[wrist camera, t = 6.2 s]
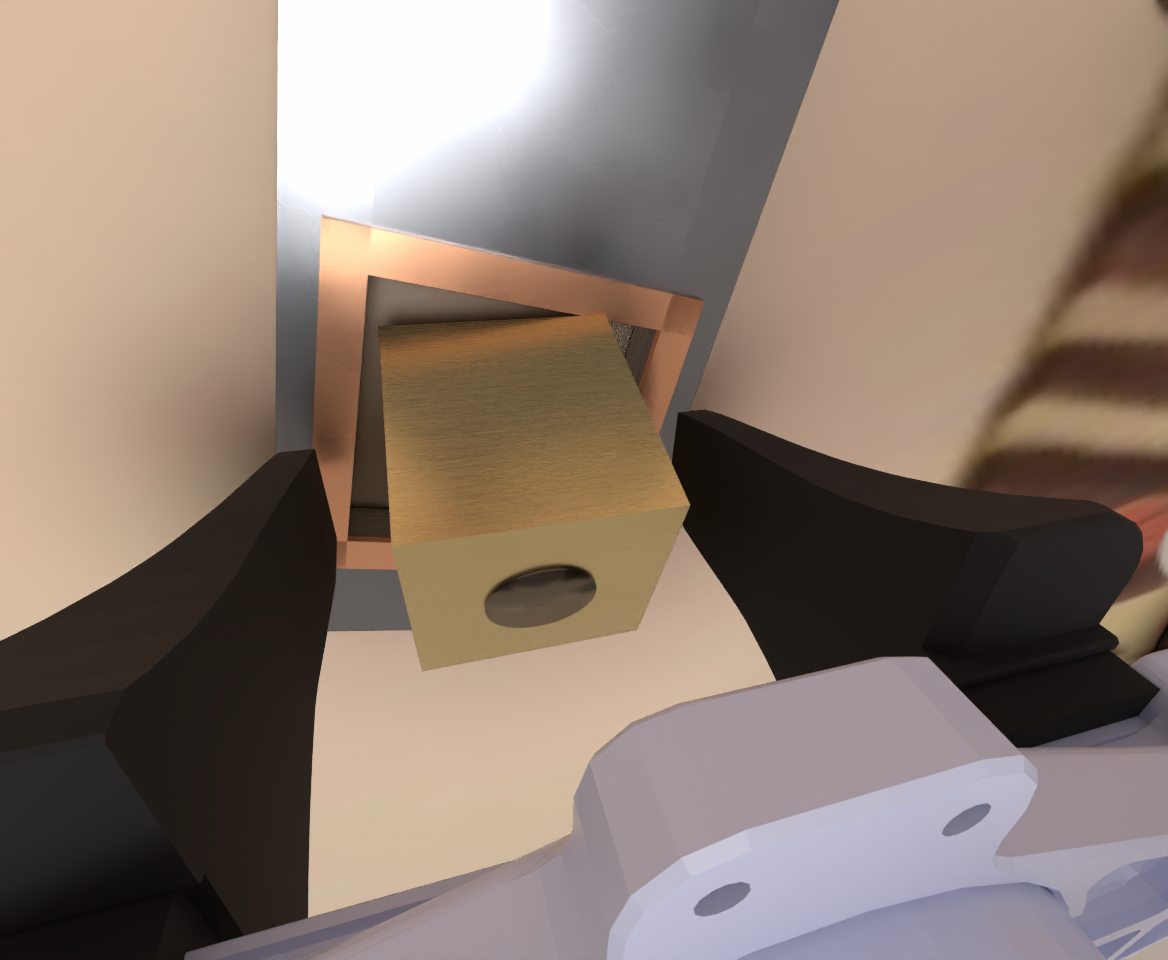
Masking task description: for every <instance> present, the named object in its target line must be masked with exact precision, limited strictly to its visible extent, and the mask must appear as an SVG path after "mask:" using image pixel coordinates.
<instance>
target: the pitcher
mask: <svg viewBox="0 0 1168 960" xmlns="http://www.w3.org/2000/svg"><path fill="white" fill-rule="evenodd" d="M1165 649H1168V629H1167V631H1166V632H1165V634H1164V635H1163V637H1162V639H1161V641H1160V643H1159V646H1158V649H1157V651H1156V652H1158V651H1161V650H1165Z"/></svg>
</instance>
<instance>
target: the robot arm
mask: <svg viewBox="0 0 1168 960" xmlns="http://www.w3.org/2000/svg"><path fill="white" fill-rule="evenodd" d="M672 465H673V467H674V470H675V472H676V474H677V476H678V479H679V481H680V483H681V485H682V488H683V490H684V492H685V494H686V497H687V499H688V501H689V503H690V507H689V510H688V512H687V514H686V517H685V519H684V521H683V524H682V525H683V527H684V529H685V530H686V532H687V533H688V535H689V536H690V538H691V539H692V541H693V542H694V544H695V545H696V547H697V548H698V550H699V551H700V553H701V554H702V556H703V557H704V559H705V560H706V562H707V563H708V565H709V566H710V568H711V569H712V570H713V572H714V573H715V575H716V576H717V578H718V579H719V581H720V582H721V584H722V585H723V586H724V588H725V589H726V591H727V592H728V594H729V595H730V597H731V598H732V600H733V601H734V603H735V604H736V606H737V607H738V609H739V610H740V612H741V614H742V615H743V617H744V619H745V620H746V622H747V624H748V626H749V628H750V630H751V631H752V633H753V635H754V637H755V639H756V641H757V643H758V645H759V647H760V649H761V650H762V652H763V654H764V656H765V658H766V660H767V662H768V664H769V666H770V668H771V670H772V672H773V674H774V676H775V679H776V681H774V682H770V683H766V684H761V685H757V686H753V687H748V688H744V689H740V690H735V691H731V692H727V693H722V694H718V695H714V696H709V697H705V698H701V699H696V700H692V701H688V702H683V703H679V704H677V705H674V706H672V707H669V708H667V709H664V710H662V711H659V712H657V713H654V714H652V715H649V716H647V717H644V718H642V719H639V720H637V721H635V722H632V723H631V724H629V725H628V726H627V727H626V728H625V729H623V730H622V731H621V732H620V733H619V734H617V735H616V736H615V737H614V738H613V739H611V740H610V741H609V742H608V743H607V744H605V745H604V746H603V747H602V748H601V749H599V750H598V751H597V752H596V753H595V754H594V756H593V757H592V759H591V760H590V762H589V764H588V766H587V768H586V771H585V773H584V775H583V777H582V780H581V782H580V784H579V786H578V789H577V791H576V793H575V795H574V808H573V830H572V834H569V835H567V836H565V837H563V838H561V839H559V840H557V841H554V842H552V843H550V844H548V845H546V846H544V847H542V848H540V849H537V850H535V851H533V852H531V853H529V854H527V855H525V856H523V857H521V858H518V859H516V860H513V861H510V862H506V863H502V864H499V865H495V866H492V867H488V868H485V869H481V870H478V871H474V872H470V873H467V874H463V875H460V876H456V877H453V878H449V879H445V880H442V881H438V882H435V883H431V884H428V885H424V886H420V887H417V888H413V889H410V890H406V891H403V892H399V893H395V894H392V895H388V896H385V897H381V898H378V899H374V900H371V901H367V902H363V903H360V904H356V905H353V906H349V907H346V908H342V909H338V910H335V911H331V912H328V913H324V914H321V915H317V916H313V917H310V918H308V869H309V828H310V798H311V774H312V753H313V735H314V718H315V704H316V696H317V688H318V681H319V676H320V670H321V664H322V659H323V653H324V648H325V642H326V636H327V631H328V625H329V620H330V614H331V608H332V602H333V596H334V590H335V584H336V564H337V536H336V532H335V528H334V524H333V520H332V516H331V512H330V508H329V504H328V500H327V496H326V491H325V487H324V483H323V479H322V475H321V471H320V467H319V463H318V459H317V455H316V451H315V449H307V450H297V451H287V452H279V453H277V454H276V455H275V456H273V457H272V458H271V459H270V460H269V461H267V462H266V463H265V464H264V465H263V466H262V467H261V468H260V469H259V470H257V471H256V472H255V473H254V474H253V475H252V476H251V477H250V478H249V479H248V480H246V481H245V482H244V483H243V484H242V485H241V486H240V487H239V488H238V489H236V490H235V491H234V492H233V493H232V494H231V495H230V496H228V497H227V498H226V499H225V500H224V501H223V502H222V503H221V504H219V505H218V506H217V507H216V508H215V509H213V510H212V511H211V512H210V513H208V514H207V515H206V516H205V517H203V518H202V519H201V520H200V521H198V522H197V523H196V524H195V525H193V526H192V527H191V528H190V529H188V530H187V531H186V532H185V533H183V534H182V535H181V536H180V537H178V538H177V539H176V540H174V541H173V542H172V543H170V544H169V545H167V546H166V547H165V548H163V549H162V550H160V551H159V552H157V553H156V554H155V555H153V556H152V557H150V558H149V559H147V560H146V561H144V562H143V563H141V564H140V565H138V566H136V567H135V568H133V569H132V570H130V571H129V572H127V573H126V574H124V575H123V576H121V577H119V578H118V579H116V580H114V581H113V582H111V583H109V584H108V585H106V586H104V587H102V588H100V589H99V590H97V591H95V592H93V593H91V594H90V595H88V596H86V597H84V598H82V599H81V600H79V601H77V602H75V603H73V604H72V605H70V606H68V607H66V608H64V609H63V610H61V611H59V612H57V613H55V614H54V615H52V616H50V617H48V618H46V619H44V620H42V621H40V622H38V623H36V624H34V625H32V626H30V627H28V628H26V629H24V630H22V631H20V632H18V633H16V634H14V635H12V636H10V637H8V638H6V639H4V640H2V641H0V960H1124V959H1126V958H1128V957H1130V956H1132V955H1134V954H1136V953H1138V952H1140V951H1142V950H1144V949H1146V948H1148V947H1150V946H1152V945H1154V944H1156V943H1158V942H1160V941H1162V940H1164V939H1166V938H1168V649H1165V650H1161V651H1158V652H1154V653H1150V654H1148V655H1146V656H1143V657H1141V658H1140V659H1138V660H1137V661H1135V662H1134V663H1132V664H1131V665H1130V666H1129V665H1128V664H1127V663H1125V662H1124V661H1123V660H1121V659H1120V658H1119V657H1117V656H1116V655H1115V654H1113V653H1112V652H1111V651H1109V650H1113V649H1115V648H1116V647H1117V645H1118V644H1119V641H1118V638H1117V637H1116V636H1115V635H1114V634H1112V633H1111V632H1110V631H1108V630H1107V629H1105V628H1104V627H1103V626H1101V625H1100V624H1099V623H1100V622H1101V620H1102V619H1103V617H1104V616H1105V615H1106V613H1107V612H1108V610H1109V609H1110V607H1111V606H1112V604H1113V603H1114V602H1115V600H1116V599H1117V597H1118V596H1119V594H1120V593H1121V591H1122V590H1123V589H1124V587H1125V586H1126V584H1127V583H1128V581H1129V580H1130V578H1131V576H1132V575H1133V573H1134V571H1135V570H1136V568H1137V566H1138V564H1139V561H1140V558H1141V555H1142V552H1143V537H1142V532H1141V530H1140V529H1139V527H1138V526H1137V524H1136V523H1135V522H1133V521H1131V520H1129V519H1127V518H1126V517H1124V516H1122V515H1120V514H1119V513H1117V512H1115V511H1113V510H1111V509H1110V508H1108V507H1106V506H1104V505H1101V504H1098V503H1095V502H1092V501H1085V500H1072V499H1059V498H1046V497H1032V496H1019V495H1010V494H1002V493H994V492H986V491H979V490H971V489H965V488H959V487H952V486H946V485H941V484H936V483H931V482H926V481H921V480H916V479H911V478H906V477H902V476H897V475H893V474H889V473H885V472H881V471H877V470H874V469H870V468H867V467H863V466H859V465H856V464H852V463H849V462H846V461H843V460H839V459H836V458H833V457H830V456H828V455H825V454H822V453H819V452H816V451H813V450H811V449H808V448H805V447H802V446H800V445H797V444H794V443H792V442H789V441H787V440H784V439H782V438H779V437H777V436H774V435H772V434H769V433H767V432H764V431H762V430H760V429H757V428H755V427H752V426H750V425H747V424H745V423H742V422H740V421H737V420H735V419H732V418H729V417H727V416H724V415H721V414H718V413H715V412H711V411H707V410H697V411H687V412H678V415H677V423H676V431H675V439H674V447H673V455H672Z"/></svg>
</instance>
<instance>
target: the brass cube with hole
mask: <svg viewBox="0 0 1168 960" xmlns="http://www.w3.org/2000/svg"><path fill="white" fill-rule="evenodd" d="M378 329H379V345H380V362H381V379H382V396H383V412H384V429H385V446H386V463H387V479H388V496H389V513H390V530H391V546H392V551H393V555H394V559H395V563H396V567H397V571H398V575H399V579H400V583H401V587H402V591H403V595H404V599H405V603H406V608H407V612H408V616H409V620H410V624H411V628H412V632H413V636H414V640H415V644H416V648H417V652H418V656H419V660H420V664H421V668H422V671H426V670H431V669H436V668H441V667H447V666H452V665H457V664H462V663H468V662H473V661H478V660H483V659H488V658H494V657H499V656H504V655H509V654H514V653H520V652H525V651H530V650H535V649H540V648H546V647H551V646H556V645H561V644H566V643H572V642H577V641H582V640H587V639H592V638H598V637H603V636H608V635H613V634H618V633H624V632H629V631H634V630H637V629H638V626H639V624H640V622H641V619H642V617H643V615H644V612H645V610H646V608H647V605H648V603H649V601H650V598H651V596H652V594H653V591H654V589H655V587H656V584H657V582H658V580H659V577H660V575H661V573H662V570H663V568H664V566H665V563H666V561H667V559H668V556H669V554H670V552H671V549H672V547H673V545H674V542H675V540H676V538H677V535H678V533H679V531H680V528H681V526H682V524H683V521H684V519H685V517H686V514H687V512H688V510H689V507H690V503H689V501H688V499H687V497H686V494H685V492H684V490H683V488H682V485H681V483H680V481H679V479H678V476H677V474H676V472H675V470H674V467H673V465H672V463H671V461H670V458H669V456H668V454H667V452H666V449H665V447H664V445H663V443H662V440H661V438H660V436H659V434H658V431H657V429H656V427H655V425H654V422H653V420H652V418H651V416H650V413H649V411H648V409H647V407H646V404H645V402H644V400H643V398H642V395H641V393H640V391H639V389H638V386H637V384H636V382H635V380H634V377H633V375H632V373H631V371H630V369H629V366H628V364H627V362H626V360H625V357H624V355H623V353H622V351H621V348H620V346H619V344H618V342H617V339H616V337H615V335H614V333H613V330H612V328H611V326H610V324H609V321H608V319H607V317H606V315H587V316H568V317H548V318H529V319H510V320H490V321H471V322H451V323H432V324H412V325H393V326H378Z"/></svg>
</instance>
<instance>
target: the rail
mask: <svg viewBox="0 0 1168 960" xmlns="http://www.w3.org/2000/svg"><path fill="white" fill-rule="evenodd" d="M838 2H839V0H278V136H277V300H276V454H277V453H279V452H287V451H297V450H307V449H315V451H316V455H317V459H318V463H319V467H320V471H321V475H322V479H323V483H324V487H325V491H326V496H327V500H328V504H329V508H330V512H331V516H332V520H333V524H334V528H335V532H336V536H337V564H336V584H335V590H334V596H333V602H332V608H331V614H330V620H329V625H328V631H381V630H412V628H411V624H410V620H409V616H408V612H407V608H406V603H405V599H404V595H403V591H402V587H401V583H400V579H399V575H398V571H397V567H396V563H395V559H394V555H393V551H392V546H391V530H390V513H389V509H376V508H358V507H351V495H352V482H353V469H354V456H355V443H356V431H357V418H358V405H359V392H360V379H361V366H362V353H363V340H364V328H365V315H366V302H367V289H368V276H369V275H371V276H377V277H382V278H387V279H392V280H398V281H403V282H408V283H413V284H419V285H424V286H429V287H434V288H440V289H445V290H450V291H455V292H461V293H466V294H471V295H476V296H482V297H487V298H492V299H497V300H503V301H508V302H513V303H518V304H523V305H529V306H534V307H539V308H544V309H550V310H555V311H560V312H565V313H571V314H576V315H581V316H587V315H606V317H607V319H608V321H613V322H618V323H623V324H628V325H634V330H633V333H632V336H631V340H630V343H629V346H628V350H627V353H626V356H625V360H626V362H627V364H628V366H629V369H630V371H631V373H632V375H633V377H634V380H635V382H636V384H637V386H638V389H639V391H640V393H641V395H642V398H643V400H644V402H645V404H646V407H647V409H648V411H649V413H650V416H651V418H652V420H653V422H654V425H655V427H656V429H657V431H658V434H659V436H660V438H661V440H662V443H663V445H664V447H665V449H666V452H667V454H668V456H669V458H670V461H671V459H672V455H673V447H674V439H675V431H676V423H677V415H678V412H687V411H689V409H690V407H691V404H692V401H693V399H694V396H695V393H696V390H697V388H698V385H699V382H700V379H701V377H702V374H703V371H704V368H705V366H706V363H707V360H708V358H709V355H710V352H711V349H712V347H713V344H714V341H715V338H716V336H717V333H718V330H719V327H720V325H721V322H722V319H723V317H724V314H725V311H726V308H727V306H728V303H729V300H730V297H731V295H732V292H733V289H734V286H735V284H736V281H737V278H738V276H739V273H740V270H741V267H742V265H743V262H744V259H745V256H746V254H747V251H748V248H749V245H750V243H751V240H752V237H753V235H754V232H755V229H756V226H757V224H758V221H759V218H760V215H761V213H762V210H763V207H764V204H765V202H766V199H767V196H768V194H769V191H770V188H771V185H772V183H773V180H774V177H775V174H776V172H777V169H778V166H779V163H780V161H781V158H782V155H783V153H784V150H785V147H786V144H787V142H788V139H789V136H790V133H791V131H792V128H793V125H794V122H795V120H796V117H797V114H798V112H799V109H800V106H801V103H802V101H803V98H804V95H805V92H806V90H807V87H808V84H809V81H810V79H811V76H812V73H813V71H814V68H815V65H816V62H817V60H818V57H819V54H820V51H821V49H822V46H823V43H824V40H825V38H826V35H827V32H828V30H829V27H830V24H831V21H832V19H833V16H834V13H835V10H836V8H837V5H838Z"/></svg>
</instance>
